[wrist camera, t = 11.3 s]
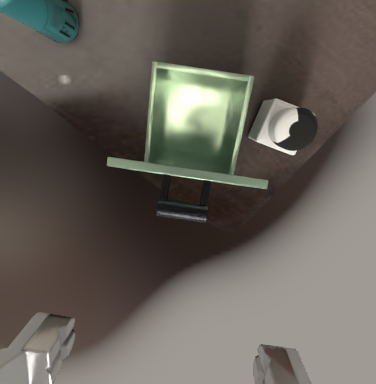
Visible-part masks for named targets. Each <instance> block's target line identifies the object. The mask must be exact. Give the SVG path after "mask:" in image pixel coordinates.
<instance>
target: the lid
mask: <svg viewBox="0 0 376 384" xmlns="http://www.w3.org/2000/svg"><path fill="white" fill-rule="evenodd" d="M107 166H112V167H118V168H125V169H131V170H137V171H143V172H150V173H157V174H164V175H163V182H162V189H161V196H160V198H159V199H158V203H157V209H156V215H157V216H163V217H170V218H177V219H184V220H191V221H198V222H206V221H207V217H208V208H209V207H208V205H207V203H208V197H209V190H210V183H211V181H212V182H219V183H225V184H232V185H240V186H247V187H255V188H262V189H267V186H268V180H263V179H256V178H249V177H242V176H235V175H228V174H222V173H215V172H208V171H201V170H194V169H187V168H181V167H174V166H167V165H160V164H153V163H146V162H140V161H133V160H126V159H119V158H112V157H108V160H107ZM171 176H177V177H184V178H191V179H198V180H203V186H202V193H201V199H200V204H199V203H192V202H185V201H178V200H171V199H168V193H169V186H170V179H171Z"/></svg>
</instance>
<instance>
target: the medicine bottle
mask: <svg viewBox="0 0 376 384" xmlns="http://www.w3.org/2000/svg"><path fill="white" fill-rule="evenodd" d="M317 127H318V125H317V120H316V117H315V114H314V113H312V112H311V111H309V110H308V109H305V108H300V107H297V106H295V105H292V104H290V103H287V102H285V101H282V100H280V99H277V98H275V99H269V100H264V101H263V103H262V105H261V107H260V110H259V112H258V114H257V116H256V119H255V121H254V123H253V125H252V128H251V130H250V132H249V135H248V137H249V138H250V139H252V140H254V141H256V142H259V143H261V144H264V145H266V146H269V147H272V148H274V149H277V150H280V151H282V152H285V153H287V154H290V155H295V153H296V152H297V150H300V149H303V148H305V147H306V146H308V145H309V144H310V143H311V142H312V141H313V139H314V138H315V136H316V133H317Z"/></svg>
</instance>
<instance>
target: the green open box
mask: <svg viewBox="0 0 376 384" xmlns="http://www.w3.org/2000/svg"><path fill="white" fill-rule="evenodd" d="M253 81H254V76H250V75H243V74H237V73H230V72H223V71H217V70H210V69H203V68H196V67H190V66H183V65H176V64H170V63H163V62H156V61H152V70H151V82H150V95H149V108H148V121H147V134H146V147H145V160H144V162H146V163H153V164H160V165H167V166H174V167H181V168H187V169H194V170H201V171H208V172H215V173H222V174H228V175H234V171H235V166H236V161H237V157H238V152H239V147H240V142H241V138H242V133H243V128H244V124H245V119H246V114H247V110H248V105H249V100H250V95H251V91H252V86H253Z"/></svg>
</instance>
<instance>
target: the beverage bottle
mask: <svg viewBox="0 0 376 384" xmlns="http://www.w3.org/2000/svg"><path fill="white" fill-rule="evenodd" d="M68 2H69V1H67V0H0V12H2V13H4V14H6V15H8V16H9V17H11V18H13V19H15V20H17V21H19V22H21V23H23V24H25V25H27V26H29V27H31V28H33V29H34V30H36V32H40V33H42V34H44V35H46V36H48V37H49V38H52V39H53V40H55V41H58V43H59V42H69V41H71V40H73V39H74V38H75V37H76V35H77V34H78V31H79V19H78V16H77V14H76V12H75V10H74V8H73V6H71V5H70V4H69V3H70V2H69V3H68Z"/></svg>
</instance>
